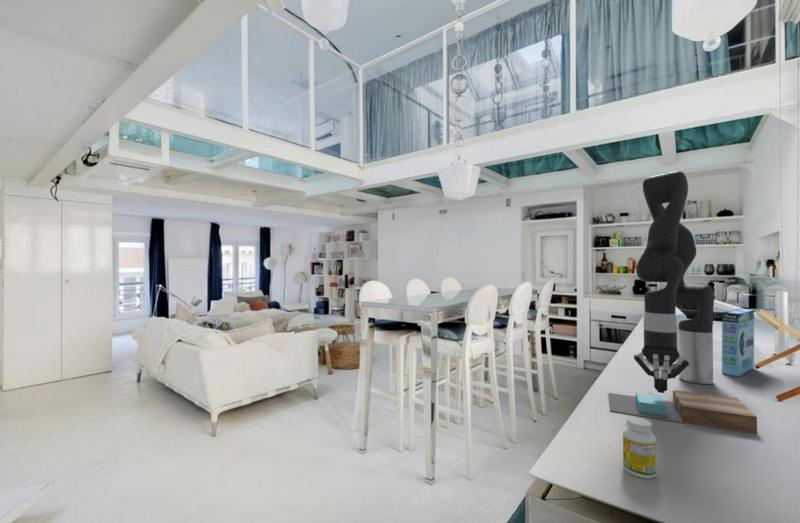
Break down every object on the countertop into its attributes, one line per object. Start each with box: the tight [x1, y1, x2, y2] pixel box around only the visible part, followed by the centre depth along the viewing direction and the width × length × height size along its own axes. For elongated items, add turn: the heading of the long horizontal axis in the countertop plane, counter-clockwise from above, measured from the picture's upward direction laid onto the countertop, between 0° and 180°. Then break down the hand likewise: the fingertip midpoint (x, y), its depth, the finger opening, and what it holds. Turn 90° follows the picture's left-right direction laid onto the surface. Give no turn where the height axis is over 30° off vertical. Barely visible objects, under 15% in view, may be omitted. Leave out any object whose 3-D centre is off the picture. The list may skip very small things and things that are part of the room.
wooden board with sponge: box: [672, 389, 758, 435], centre depth 96 cm, size 14×14×4 cm
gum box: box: [721, 308, 755, 377], centre depth 139 cm, size 20×5×23 cm, turn 123°
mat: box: [608, 392, 685, 424], centre depth 103 cm, size 16×16×1 cm
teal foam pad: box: [635, 391, 666, 415], centre depth 102 cm, size 9×6×2 cm, turn 152°
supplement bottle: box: [622, 416, 657, 480], centre depth 71 cm, size 5×5×10 cm
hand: (660, 391), depth 101 cm, fingers closed
